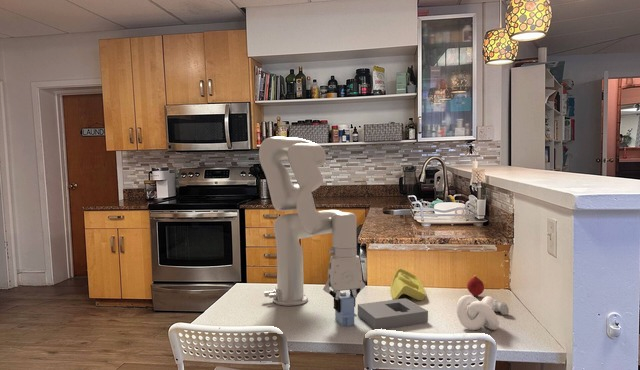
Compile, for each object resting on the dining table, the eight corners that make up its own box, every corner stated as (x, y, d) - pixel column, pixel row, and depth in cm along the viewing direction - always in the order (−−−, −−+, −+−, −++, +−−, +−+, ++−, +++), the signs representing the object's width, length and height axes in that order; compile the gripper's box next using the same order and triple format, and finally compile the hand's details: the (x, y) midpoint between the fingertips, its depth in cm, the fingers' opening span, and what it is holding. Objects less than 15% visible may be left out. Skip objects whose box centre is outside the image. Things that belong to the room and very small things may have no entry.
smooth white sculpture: (484, 311, 137) (497, 306, 137) (499, 320, 129) (512, 314, 129) (481, 300, 136) (494, 294, 137) (495, 307, 128) (509, 302, 129)
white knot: (463, 316, 129) (464, 289, 129) (504, 324, 122) (504, 295, 122) (453, 328, 120) (453, 298, 120) (496, 337, 113) (496, 306, 113)
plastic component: (427, 295, 143) (402, 283, 143) (417, 313, 144) (392, 301, 144) (418, 276, 163) (396, 265, 163) (410, 292, 164) (388, 281, 164)
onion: (485, 295, 150) (485, 274, 149) (482, 300, 145) (482, 278, 144) (468, 293, 153) (469, 272, 152) (465, 297, 148) (465, 276, 148)
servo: (344, 327, 120) (344, 298, 120) (333, 316, 129) (333, 290, 129) (356, 326, 122) (356, 297, 121) (344, 315, 131) (344, 288, 130)
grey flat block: (375, 330, 118) (375, 318, 118) (357, 315, 131) (357, 304, 130) (427, 322, 124) (427, 311, 124) (405, 308, 136) (405, 298, 136)
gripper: (323, 256, 118) (323, 317, 119) (374, 252, 124) (374, 310, 124) (315, 251, 125) (315, 309, 126) (363, 248, 131) (363, 303, 131)
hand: (344, 309), depth 125 cm, fingers closed on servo, 4 cm apart
